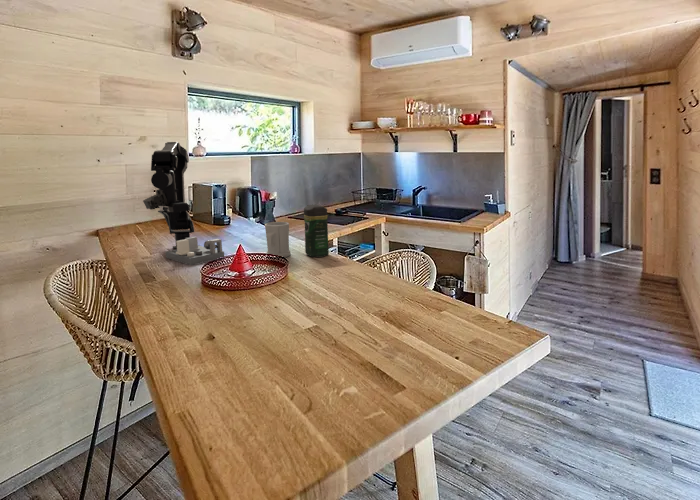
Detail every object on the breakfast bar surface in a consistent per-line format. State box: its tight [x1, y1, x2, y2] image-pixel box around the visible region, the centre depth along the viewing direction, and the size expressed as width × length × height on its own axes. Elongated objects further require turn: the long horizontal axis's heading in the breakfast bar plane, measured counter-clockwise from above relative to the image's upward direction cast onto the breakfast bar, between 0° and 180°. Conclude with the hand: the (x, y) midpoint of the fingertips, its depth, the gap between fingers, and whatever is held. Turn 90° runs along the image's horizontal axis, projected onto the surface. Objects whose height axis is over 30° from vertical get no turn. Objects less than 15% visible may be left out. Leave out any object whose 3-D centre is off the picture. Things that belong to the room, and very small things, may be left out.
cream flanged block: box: [175, 239, 191, 255], centre depth 167 cm, size 4×4×5 cm
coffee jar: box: [303, 204, 330, 258], centre depth 171 cm, size 10×8×19 cm
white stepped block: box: [185, 236, 200, 252], centre depth 172 cm, size 4×4×5 cm
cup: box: [264, 221, 291, 258], centre depth 171 cm, size 10×9×12 cm
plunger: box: [203, 240, 218, 249], centre depth 171 cm, size 6×3×3 cm, turn 48°
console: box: [165, 238, 225, 266], centre depth 172 cm, size 18×14×7 cm
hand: (171, 229), depth 171 cm, fingers closed
